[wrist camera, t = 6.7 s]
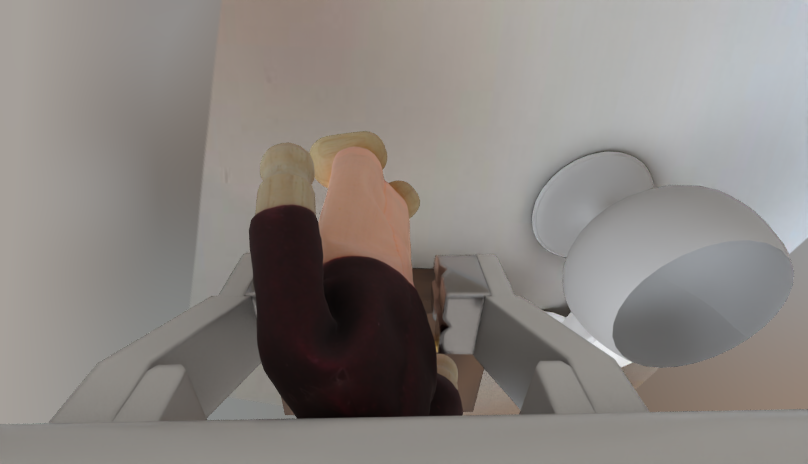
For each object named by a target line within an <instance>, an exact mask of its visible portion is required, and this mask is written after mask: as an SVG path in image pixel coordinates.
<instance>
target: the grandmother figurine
mask: <svg viewBox="0 0 808 464" xmlns="http://www.w3.org/2000/svg"><path fill="white" fill-rule="evenodd" d="M386 163H387V152H386V149H385V146H384V144H383V142H382V140H381V139H380V138H379V136H377V135H376V134H374V133H371V132H367V131H362V132H353V133H345V134H337V135H331V136H326V137H322V138H320V139H319V140H317V141H316V142H315V143H314V144H313V145H312V147H311V149H310V153H308V152H307V151H306V150H305V149H303V148H302V147H301V146H299V145H296V144H292V143H281V144H277V145H274V146H272V147H271V148H269V149H268V150H267V151H266V153H265V154H264V155H263V157H262V160H261V163H260V175H261V177H262V180H263V182H262V183H261V184H260V186H259V189H258V193H257V202H256V212H255V216H254V217H253V218H252V220H251V224H250V228H249V240H250V253H251V262H252V269H253V283H254V289H255V295H256V308H257V320H256V325H257V346H258V350H259V356H260V360H261V362H262V365H263V368H264V371H265V372H266V374H267V376H268V377H269V379H270V380H271V382H272V383H273V384H274V386H275V387H276V389H277V391H278V392H279V394H280V395H281V397H282V398H283V400H284V401H285V402H286V404H287V405H288V406H289V408H290V409H291V410H292V412H293V413H294V415H295V416H296V417H297V419H304V418H358V417H412V416H462V414H463V407H462V402H461V397H460V394H459V391H458V385H457V380H458V370H457V366H456V364H455V362H454V361H453V360H452V359H451V358H450V357H448V356H446V355H444V354H437V353H436V345H435V341H434V337H433V334H432V331H431V328H430V325H429V322H428V317H427V314H426V311H425V308H424V306H423V303H422V300H421V298H420V296H419V294H418V291H417V289H416V288H415V286H414V284H413V273H412V264H411V244H410V223H409V219H410V218H411V217H412V216H413V215H414V214H415V213H416V212H417V210H418V208H419V206H420V200H419V196H418V194H417V192H416V191H415V190H414V189H413V187H412V186H411V185H410V184H408V183H406V182H404V181H393V182H390V183H388V182H386V181H385V180H384V177H383V171H382V170H383V168H384V167H385V165H386ZM314 177H315V179H316V180H317V181H318V182H319V183H320V184H322V185H323V186H325V187H327V188H328V192H327V195H326V199H325V202H324V205H323V208H322V212H321V215H320V219H319V222H318V221H317V218H316V211H315V193H314V191H313V188H312V185H311V184H312V182H313V180H314Z"/></svg>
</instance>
